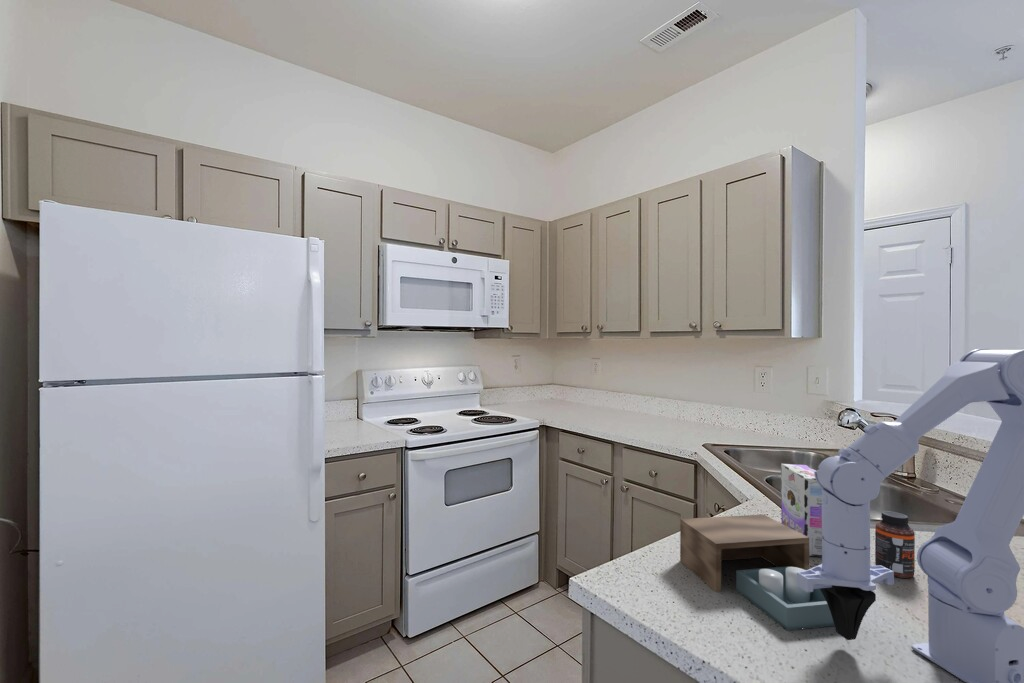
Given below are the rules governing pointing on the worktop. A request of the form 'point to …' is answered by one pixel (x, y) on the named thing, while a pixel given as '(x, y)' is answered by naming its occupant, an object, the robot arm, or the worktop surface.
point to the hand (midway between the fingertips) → (845, 635)
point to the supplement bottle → (895, 544)
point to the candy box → (802, 504)
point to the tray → (784, 597)
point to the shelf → (738, 544)
